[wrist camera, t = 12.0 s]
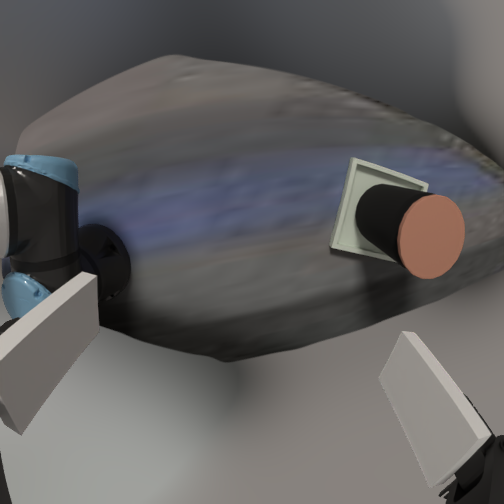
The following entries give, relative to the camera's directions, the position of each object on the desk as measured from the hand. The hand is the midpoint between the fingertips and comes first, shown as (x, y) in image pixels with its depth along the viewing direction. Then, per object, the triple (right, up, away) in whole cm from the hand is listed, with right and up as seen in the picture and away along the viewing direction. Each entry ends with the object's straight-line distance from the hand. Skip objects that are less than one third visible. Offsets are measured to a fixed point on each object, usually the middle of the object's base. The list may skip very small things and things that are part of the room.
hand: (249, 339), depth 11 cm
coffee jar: (+23, +10, +36) cm, 44 cm away
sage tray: (+23, +10, +37) cm, 44 cm away
